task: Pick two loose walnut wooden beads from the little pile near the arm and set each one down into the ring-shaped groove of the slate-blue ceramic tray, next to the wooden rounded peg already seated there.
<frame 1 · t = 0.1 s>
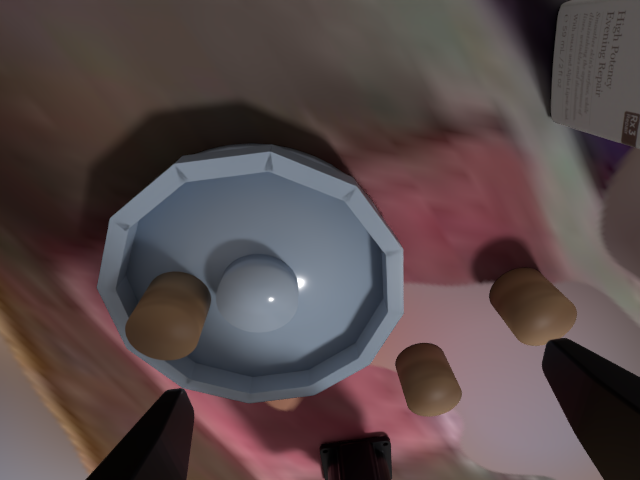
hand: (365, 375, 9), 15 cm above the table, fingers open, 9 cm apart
groove tray: (261, 276, 25), on the table
bead b: (516, 290, 27), on the table
skincare box: (591, 58, 20), on the table
wooden rounded peg: (179, 297, 24), point 1 cm above the table, touching groove tray
bead a: (419, 361, 30), on the table
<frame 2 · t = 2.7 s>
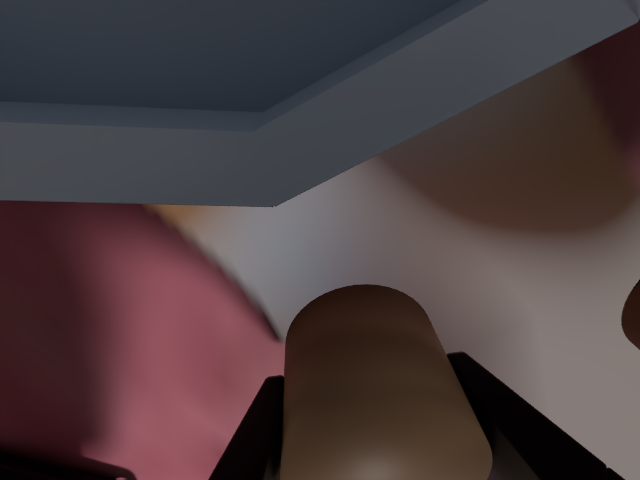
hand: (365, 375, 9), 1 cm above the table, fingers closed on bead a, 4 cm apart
bead a: (359, 344, 10), on the table, touching gripper
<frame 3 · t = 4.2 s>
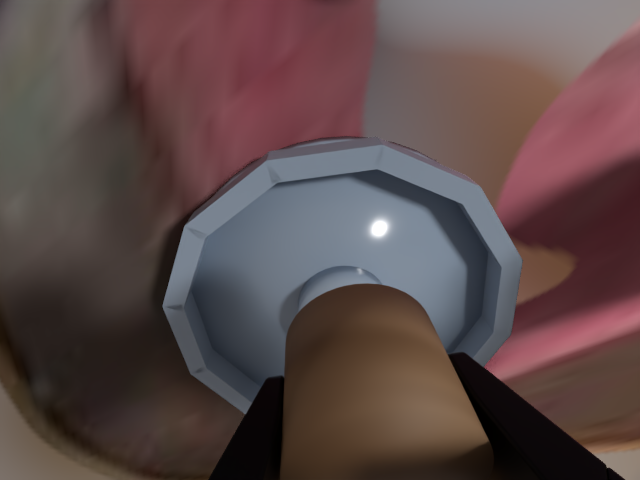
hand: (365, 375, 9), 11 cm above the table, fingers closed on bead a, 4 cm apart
groove tray: (340, 290, 22), on the table
bead a: (359, 344, 10), point 10 cm above the table, touching gripper
when the fingers open (3 cm above the table, at t = 6.0 s): bead a stays where it is, resting on groove tray.
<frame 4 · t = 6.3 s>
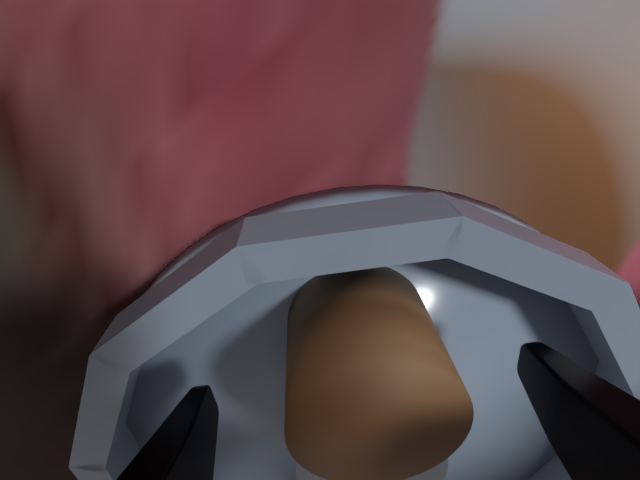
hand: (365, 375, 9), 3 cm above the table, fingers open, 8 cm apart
groove tray: (359, 403, 14), on the table
bead a: (355, 320, 11), point 1 cm above the table, touching groove tray
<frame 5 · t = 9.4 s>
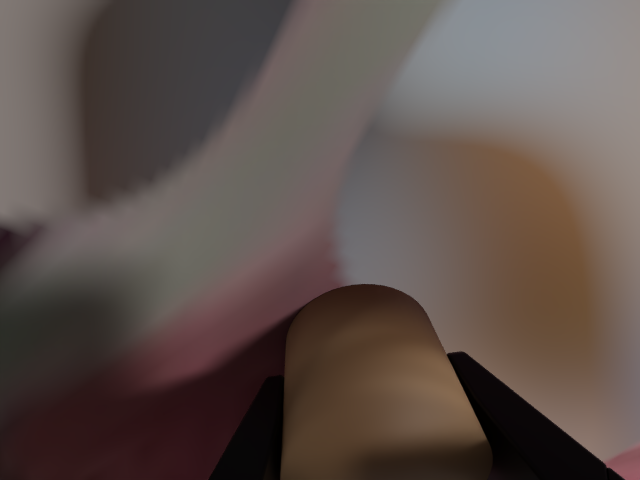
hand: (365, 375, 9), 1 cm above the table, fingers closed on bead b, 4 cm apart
bead b: (359, 344, 10), on the table, touching gripper
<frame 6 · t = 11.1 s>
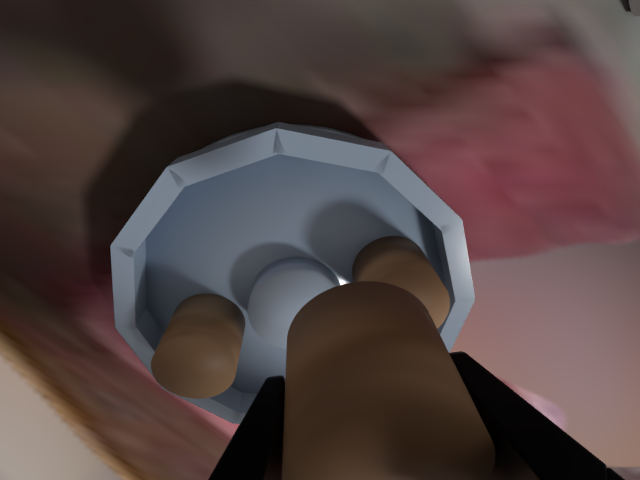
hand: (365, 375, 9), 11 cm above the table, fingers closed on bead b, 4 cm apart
groove tray: (296, 283, 21), on the table
bead b: (360, 342, 10), point 10 cm above the table, touching gripper
wooden rounded peg: (209, 322, 21), point 1 cm above the table, touching groove tray
bead a: (389, 269, 20), point 1 cm above the table, touching groove tray
when the fingers open (3 cm above the table, at t = 13.1 s): bead b stays where it is, resting on groove tray.
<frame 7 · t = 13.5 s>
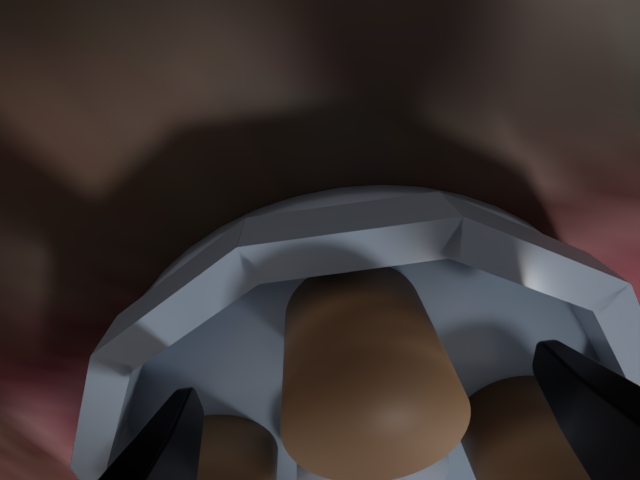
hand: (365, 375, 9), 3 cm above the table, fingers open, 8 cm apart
groove tray: (360, 403, 14), on the table
bead b: (353, 318, 11), point 1 cm above the table, touching groove tray
wooden rounded peg: (223, 450, 13), point 1 cm above the table, touching groove tray
bead a: (509, 414, 13), point 1 cm above the table, touching groove tray
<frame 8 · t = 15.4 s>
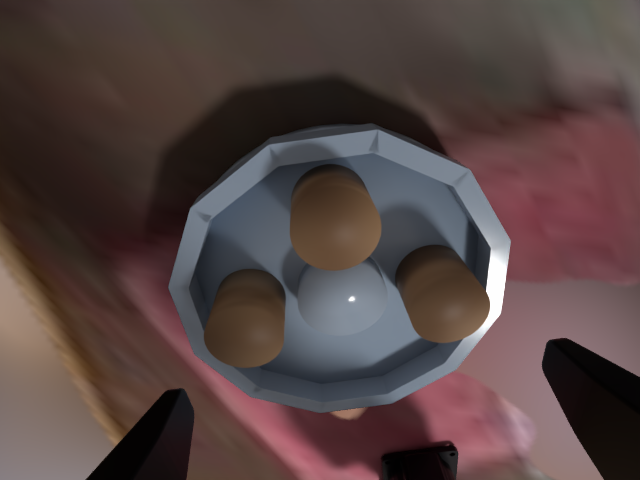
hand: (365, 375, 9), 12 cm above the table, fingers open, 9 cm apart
groove tray: (338, 274, 23), on the table
bead b: (329, 201, 19), point 1 cm above the table, touching groove tray
wooden rounded peg: (251, 297, 22), point 1 cm above the table, touching groove tray
bead a: (429, 274, 21), point 1 cm above the table, touching groove tray
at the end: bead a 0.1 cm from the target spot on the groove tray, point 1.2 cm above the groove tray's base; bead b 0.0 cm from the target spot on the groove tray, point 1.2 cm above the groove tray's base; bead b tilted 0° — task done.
